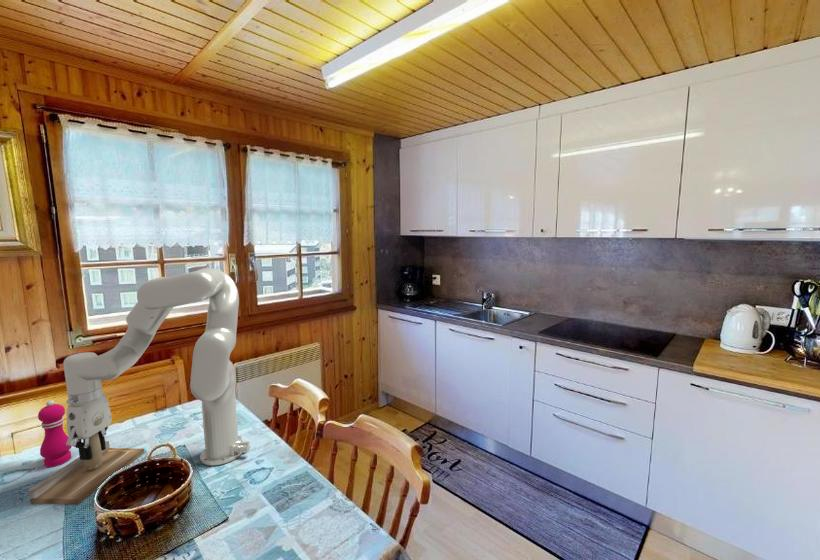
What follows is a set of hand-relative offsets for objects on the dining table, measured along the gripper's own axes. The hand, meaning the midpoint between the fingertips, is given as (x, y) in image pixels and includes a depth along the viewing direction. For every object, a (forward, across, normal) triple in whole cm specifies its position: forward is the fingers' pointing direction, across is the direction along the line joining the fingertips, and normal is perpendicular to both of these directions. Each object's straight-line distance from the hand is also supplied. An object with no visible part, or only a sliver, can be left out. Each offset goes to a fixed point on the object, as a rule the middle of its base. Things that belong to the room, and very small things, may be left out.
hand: (93, 453), depth 109 cm
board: (+6, -2, -1) cm, 6 cm away
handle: (+4, 0, 0) cm, 4 cm away
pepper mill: (+6, +5, +17) cm, 18 cm away
